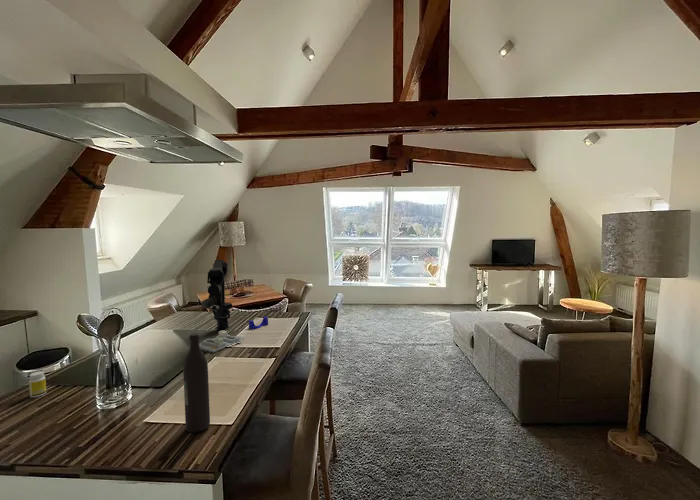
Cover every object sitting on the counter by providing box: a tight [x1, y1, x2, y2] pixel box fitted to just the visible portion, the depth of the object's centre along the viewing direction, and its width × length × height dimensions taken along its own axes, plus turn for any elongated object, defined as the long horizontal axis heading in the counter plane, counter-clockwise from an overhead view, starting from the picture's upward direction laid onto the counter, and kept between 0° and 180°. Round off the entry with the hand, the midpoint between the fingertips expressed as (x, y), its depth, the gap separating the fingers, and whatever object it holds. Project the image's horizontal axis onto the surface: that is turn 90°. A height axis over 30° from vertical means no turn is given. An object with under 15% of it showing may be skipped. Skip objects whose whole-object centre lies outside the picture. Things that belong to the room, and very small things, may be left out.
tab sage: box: [213, 337, 223, 345], centre depth 178 cm, size 4×3×4 cm, turn 60°
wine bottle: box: [182, 332, 211, 434], centre depth 107 cm, size 7×7×30 cm
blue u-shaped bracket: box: [248, 316, 269, 330], centre depth 212 cm, size 12×4×6 cm, turn 139°
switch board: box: [199, 333, 245, 353], centre depth 184 cm, size 16×22×3 cm
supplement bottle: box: [28, 370, 48, 398], centre depth 130 cm, size 5×5×8 cm
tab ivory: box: [218, 329, 228, 338], centre depth 190 cm, size 4×3×4 cm, turn 60°
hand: (217, 320), depth 188 cm, fingers closed
